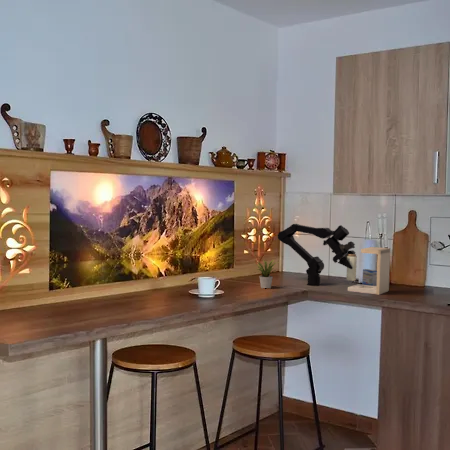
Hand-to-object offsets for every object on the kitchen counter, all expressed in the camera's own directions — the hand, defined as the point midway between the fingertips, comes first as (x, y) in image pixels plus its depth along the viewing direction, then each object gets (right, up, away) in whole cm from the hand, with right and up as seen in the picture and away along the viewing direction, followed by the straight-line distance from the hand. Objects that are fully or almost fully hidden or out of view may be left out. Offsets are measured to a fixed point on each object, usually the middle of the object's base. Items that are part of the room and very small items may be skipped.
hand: (353, 268), depth 355 cm
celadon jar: (-1, -7, +1) cm, 7 cm away
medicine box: (+13, -11, +18) cm, 25 cm away
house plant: (-47, -11, -1) cm, 48 cm away
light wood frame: (+6, -12, -4) cm, 14 cm away
